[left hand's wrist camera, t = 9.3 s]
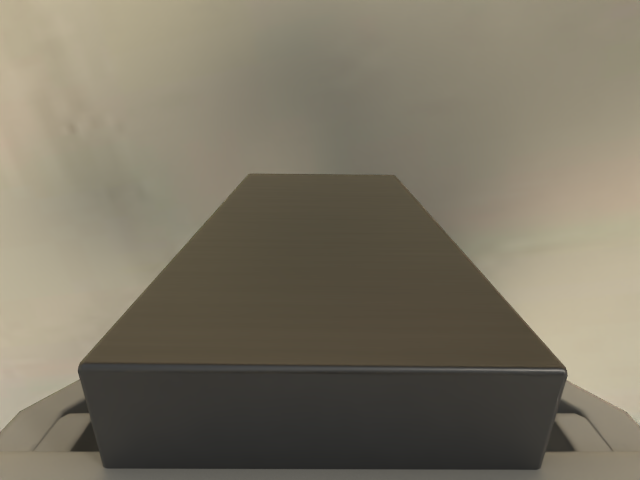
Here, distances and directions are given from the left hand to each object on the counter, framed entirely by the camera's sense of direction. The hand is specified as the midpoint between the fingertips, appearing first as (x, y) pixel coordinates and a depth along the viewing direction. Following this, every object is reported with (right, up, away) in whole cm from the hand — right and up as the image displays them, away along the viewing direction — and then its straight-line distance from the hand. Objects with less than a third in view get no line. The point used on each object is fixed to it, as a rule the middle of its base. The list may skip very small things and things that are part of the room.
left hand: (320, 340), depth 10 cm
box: (0, -8, +9) cm, 12 cm away
